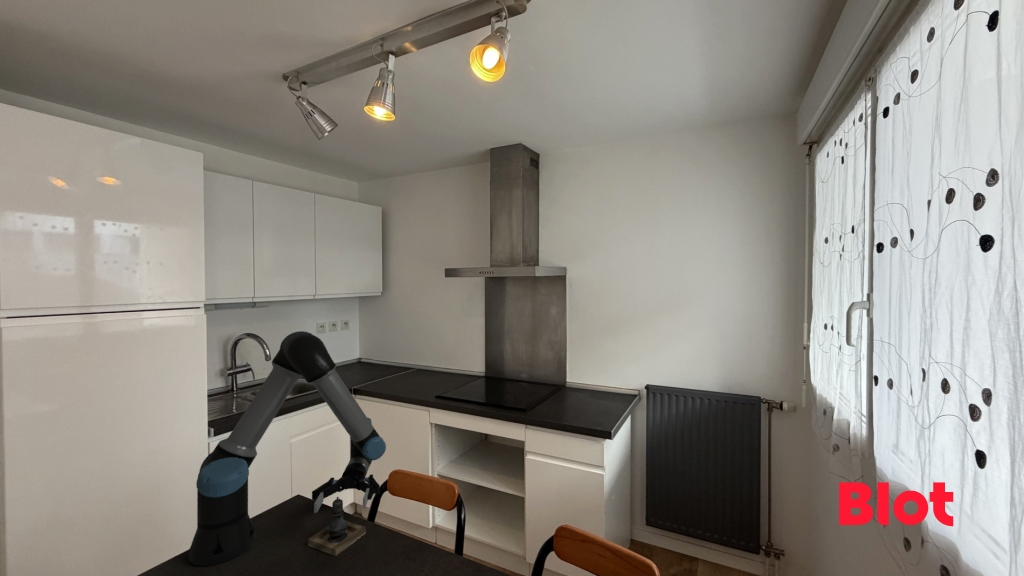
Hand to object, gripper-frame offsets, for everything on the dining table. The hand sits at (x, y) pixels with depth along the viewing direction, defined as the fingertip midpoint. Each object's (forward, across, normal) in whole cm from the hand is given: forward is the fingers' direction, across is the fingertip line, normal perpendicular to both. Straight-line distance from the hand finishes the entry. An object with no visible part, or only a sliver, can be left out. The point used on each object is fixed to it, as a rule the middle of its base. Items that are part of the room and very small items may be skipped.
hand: (340, 506), depth 116 cm
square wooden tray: (+1, 0, -9) cm, 9 cm away
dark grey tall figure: (+1, 0, -9) cm, 9 cm away
